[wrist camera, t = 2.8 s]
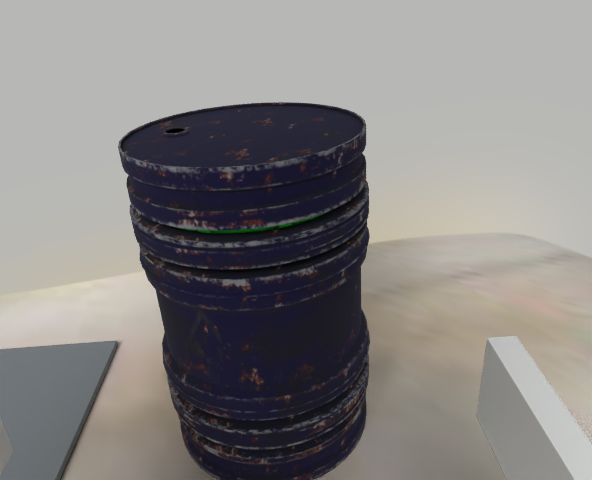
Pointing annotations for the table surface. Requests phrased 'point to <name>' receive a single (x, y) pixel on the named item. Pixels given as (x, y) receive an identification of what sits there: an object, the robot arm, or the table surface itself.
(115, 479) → the table surface
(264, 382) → the rusty oil drum
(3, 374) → the pad
